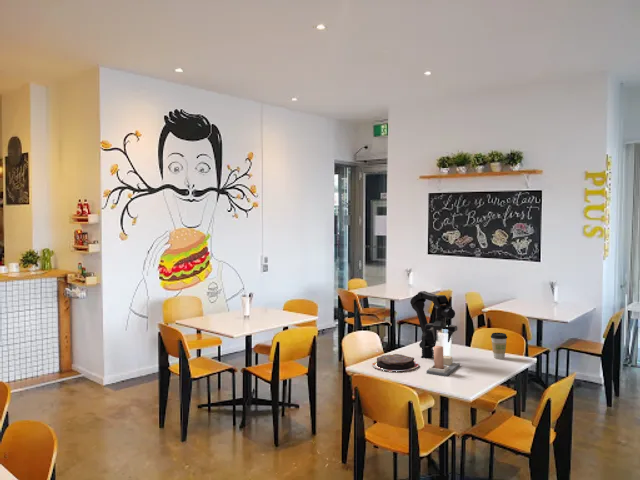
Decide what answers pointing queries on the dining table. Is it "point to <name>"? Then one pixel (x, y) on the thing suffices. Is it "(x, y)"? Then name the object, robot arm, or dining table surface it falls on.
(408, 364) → the chocolate cake
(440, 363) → the pillar
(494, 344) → the coffee cup
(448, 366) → the base plate
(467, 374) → the dining table surface
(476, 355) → the dining table surface
